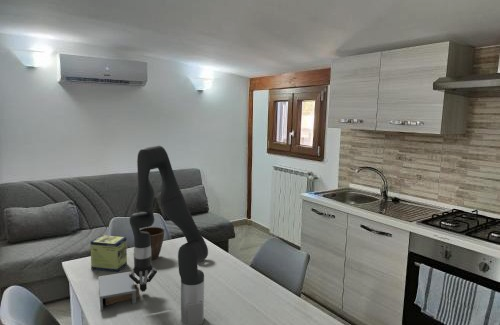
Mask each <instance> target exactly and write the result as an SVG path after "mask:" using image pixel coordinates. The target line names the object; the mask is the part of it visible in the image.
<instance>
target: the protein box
mask: <svg viewBox="0 0 500 325" xmlns="http://www.w3.org/2000/svg"><path fill="white" fill-rule="evenodd" d="M127 247H128V246H127V237H126V236H114V235H103V234H101V235H100V236H98V237H97V238H95V239H93V240H91V241H90V269H91V270H97V271H107V272H115V273H117V272H119V271H120V270H121V269H123V268H125V266H126V265H128V256H127V255H128V251H127V250H128V248H127Z"/></svg>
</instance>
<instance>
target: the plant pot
mask: <svg viewBox="0 0 500 325" xmlns="http://www.w3.org/2000/svg"><path fill="white" fill-rule="evenodd" d="M140 231H144V232H149V233H150V243H151V261H155V260H157V259H158V258H159V256H160V253H161V249H162V246H163V242H164V237H165V232H166V231H165V229H164V228H162V227H156V226H150V227H145V228H140Z"/></svg>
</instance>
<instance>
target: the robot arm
mask: <svg viewBox="0 0 500 325" xmlns="http://www.w3.org/2000/svg"><path fill="white" fill-rule="evenodd" d="M136 163H137V164H136V165H137V166H136V167H137V185H138V186H137V195H136V196H137V197H136V203H135V208H136V209H137V211H139V212H134V213H132V214H131V215H130V217H129V224H130V227H131V231H132V235H133V241H134V242H133V245H134V247H133V264H134V266H133V269H132V271H130V272H131V273H129V277H130V278H131V279H132V280H133V281H134V284H138V285H139V291H140V292H146V291H147V286H148V285H147V284H148V283H150V282H151V281H152V280H153V279H154V277H155V276H156V275H157V274H158V270H157V268H155V267H153V265H152V260H151V243H150V233H149V232H144V231H140V230H141V229H143V228H149V227H153V224H154V223H155V215H154V207H153V205H154V200H155V190H154V187H153V186H152V185H153V184H151V182H150V177H149V176H150V172H151V170H154V169H158V172H159V174H160V177H161V187H160V195H159V198H160V199H159V200H160V203H161V204H160V205H161V206H162V209H163V211H164V214H165V215H166V217H167V218H168V219H169V221H171V222H172V223H173V224H174V225H175V226H176V227H177V228H178V229H180V230H181V232H182V233H183V235H184V237H185V240H186V243H184V244H182V245H181V246H180V247H179V248H178V252H177V261H178V262H177V265H178V274H179V277H180V322H181V324H182V325H203V324H204V320H205V317H204V316H205V273H204V272H203V270H201V269H199V267H198V264H199V263H201V262H203V261H205V259H207V258H208V255H209V247H208V245H207V243H206V241H205V239H204V237H203V235H202V234H201V232H200V230H199V229H198V227H197V224H196V222H195V220H194V218H193V216H192V213H191V212H190V210H189V208H188V204H187V202H186V199H185V197H184V195H183V192H182V190H181V188H180V186H179V183H178V181H177V178H176V177H175V174H174V170H173V167H172V164H171V161H170V158H169V155H168V152H167V151H166V149H165V148H164V147H163V146H161V145H153V146H148V147H143V148H140V150H139V151H138V153H137V161H136ZM136 276H137V277H138V278H137V277H136Z"/></svg>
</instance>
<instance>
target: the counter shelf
mask: <svg viewBox="0 0 500 325" xmlns="http://www.w3.org/2000/svg"><path fill="white" fill-rule="evenodd" d="M131 272H132V271H125V272H119V273H113V274H106V275H101V276H98V293H99V294H98V295H99V296H98V297H99V309H100V312H103V311H104V304H103V302H104V300H103V299H105V298H108V297H114V296H119V295H125V294H130V293H132V299H131V300H132V302H131V303H132V305H134V304H137V298H136V289H135V285H134V284H135V282H134V281H133V280H132V279H131V278H130V277H129V273H131Z"/></svg>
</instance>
